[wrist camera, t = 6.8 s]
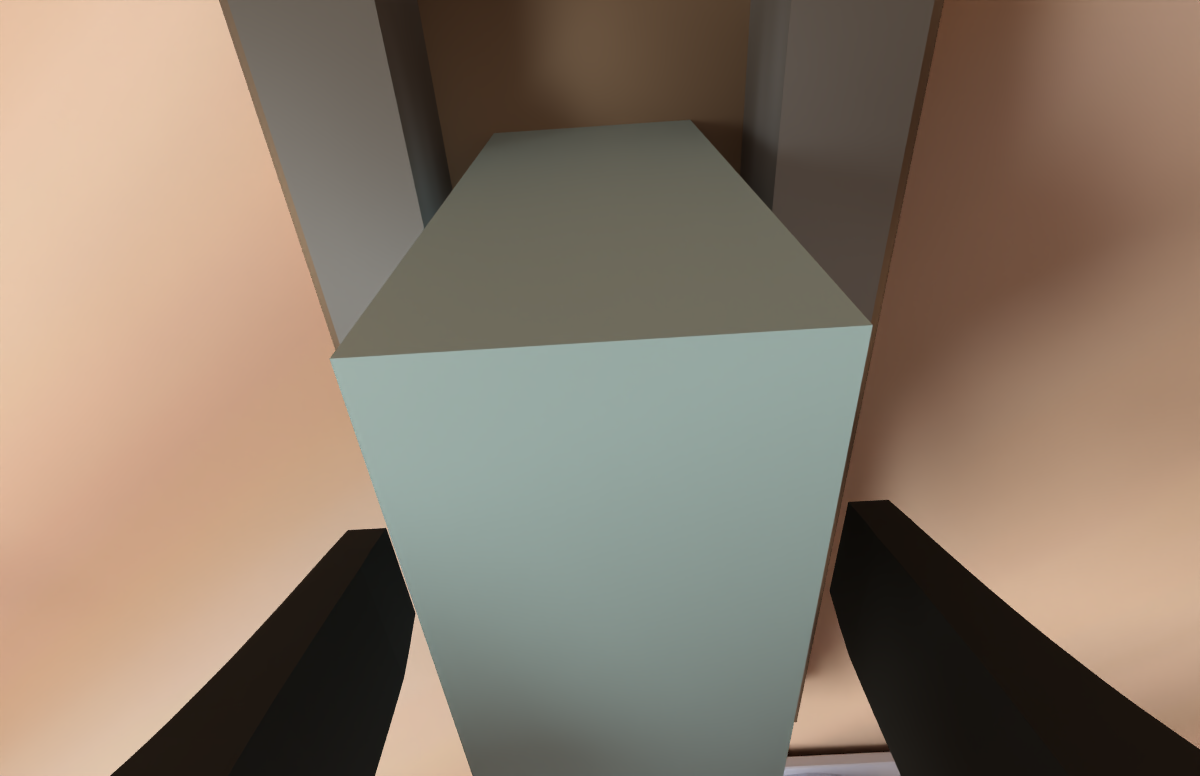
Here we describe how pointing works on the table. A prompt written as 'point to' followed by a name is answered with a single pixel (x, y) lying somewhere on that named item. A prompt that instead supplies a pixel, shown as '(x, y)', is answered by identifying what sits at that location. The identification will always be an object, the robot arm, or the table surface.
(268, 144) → the door track
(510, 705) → the door panel
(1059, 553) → the table surface
